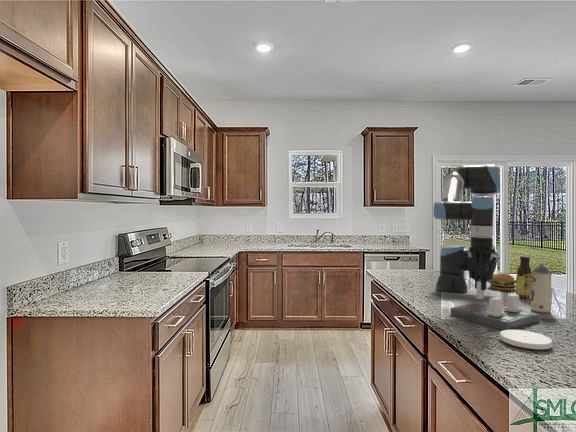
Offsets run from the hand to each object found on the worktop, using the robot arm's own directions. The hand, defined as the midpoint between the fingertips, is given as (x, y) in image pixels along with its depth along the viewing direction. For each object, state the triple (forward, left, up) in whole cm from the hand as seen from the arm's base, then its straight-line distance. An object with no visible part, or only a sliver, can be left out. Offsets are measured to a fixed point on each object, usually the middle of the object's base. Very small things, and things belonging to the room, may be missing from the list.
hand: (480, 298), depth 147 cm
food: (-28, +67, -9) cm, 73 cm away
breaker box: (+2, +6, -8) cm, 10 cm away
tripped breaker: (+6, 0, -5) cm, 8 cm away
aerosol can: (+6, +34, -8) cm, 35 cm away
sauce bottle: (-11, +55, -8) cm, 56 cm away
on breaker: (+6, +12, -5) cm, 14 cm away
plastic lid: (+23, -13, -9) cm, 28 cm away
